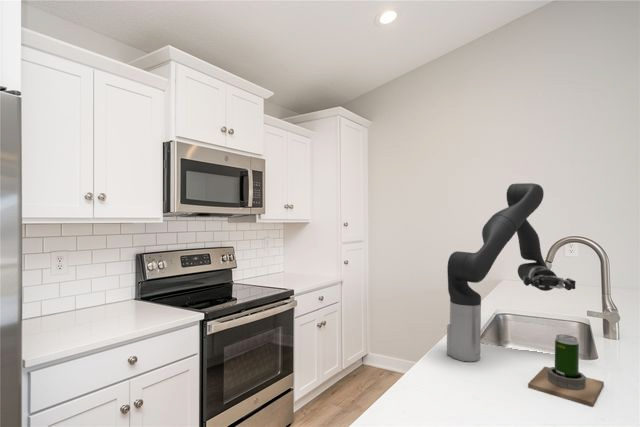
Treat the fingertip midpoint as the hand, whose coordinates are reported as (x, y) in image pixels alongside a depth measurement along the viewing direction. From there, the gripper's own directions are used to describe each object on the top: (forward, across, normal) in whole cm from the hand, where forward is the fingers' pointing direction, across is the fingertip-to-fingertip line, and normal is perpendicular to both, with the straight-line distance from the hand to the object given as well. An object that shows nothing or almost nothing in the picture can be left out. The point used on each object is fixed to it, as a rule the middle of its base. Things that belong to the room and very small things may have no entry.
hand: (553, 285), depth 118 cm
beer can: (+18, 0, +23) cm, 29 cm away
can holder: (+18, -1, +24) cm, 30 cm away
